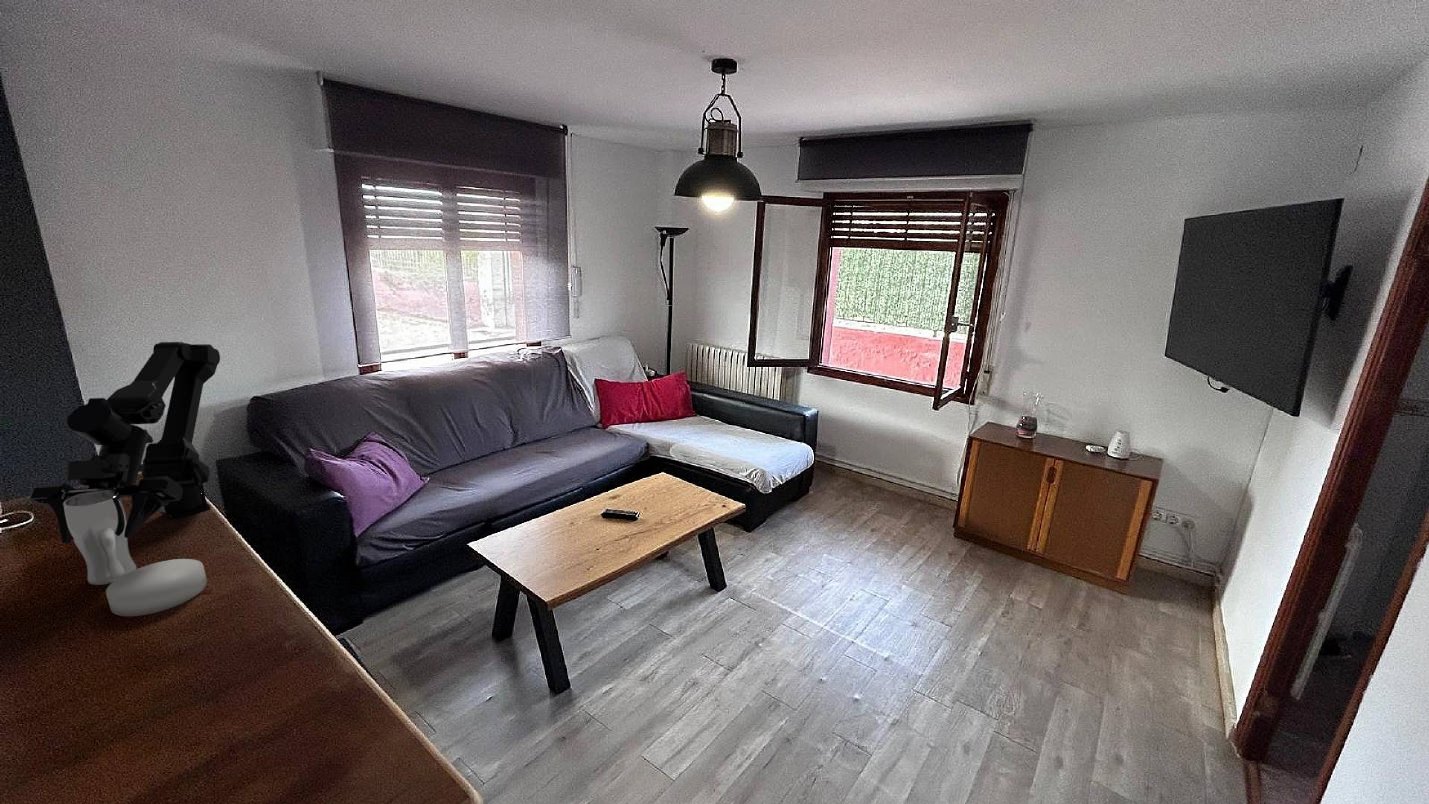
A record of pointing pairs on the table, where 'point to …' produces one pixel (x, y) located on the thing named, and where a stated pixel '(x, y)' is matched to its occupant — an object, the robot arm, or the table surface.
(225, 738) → the table surface
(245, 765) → the table surface
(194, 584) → the cream stand
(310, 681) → the table surface
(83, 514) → the beer glass
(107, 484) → the robot arm
